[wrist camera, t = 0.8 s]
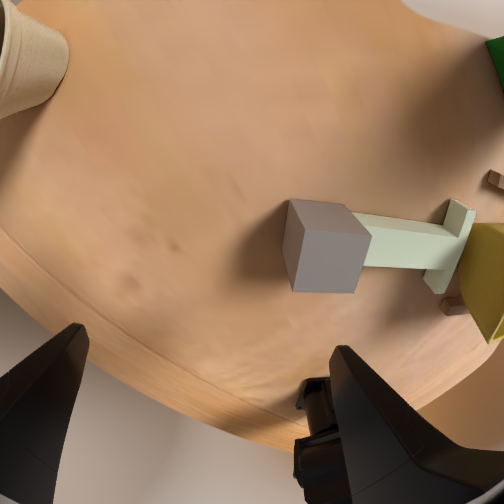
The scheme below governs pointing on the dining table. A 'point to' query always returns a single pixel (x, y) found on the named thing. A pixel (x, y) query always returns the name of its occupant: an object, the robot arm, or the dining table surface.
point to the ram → (368, 245)
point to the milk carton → (498, 56)
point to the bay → (457, 304)
